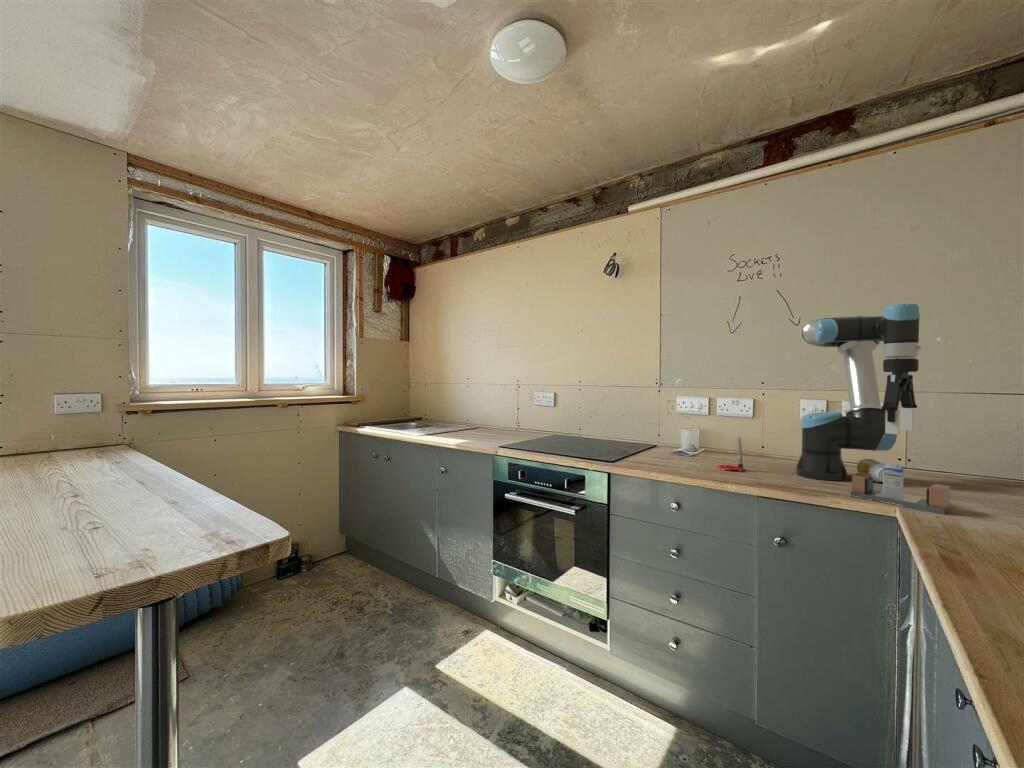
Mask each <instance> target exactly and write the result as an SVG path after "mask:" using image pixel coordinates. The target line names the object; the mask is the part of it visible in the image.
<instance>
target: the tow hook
mask: <svg viewBox="0 0 1024 768" xmlns="http://www.w3.org/2000/svg"><path fill="white" fill-rule="evenodd" d="M737 439H738V440H737V441H738V442H737V453H738V455H737V459H738V461H737V462H738V464H737V465H733V464H732V465H731V464H721V465H716V469H717V468H720V469H725V470H739V471H738V472H740V471H742V472H743V471H744V463H743V462H744V461H743V452H742V449H743V448H742V442H741V440H742V439H741V437H739V436H738V438H737ZM724 466H726V467H734V468H722V467H724Z"/></svg>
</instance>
